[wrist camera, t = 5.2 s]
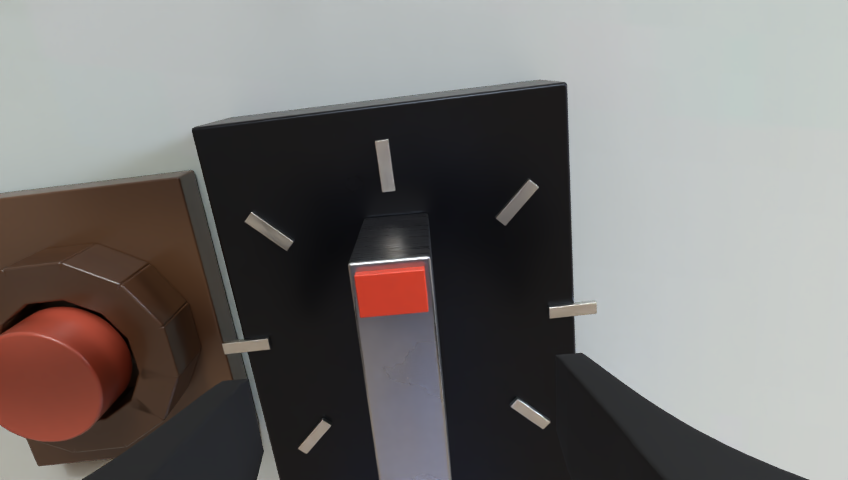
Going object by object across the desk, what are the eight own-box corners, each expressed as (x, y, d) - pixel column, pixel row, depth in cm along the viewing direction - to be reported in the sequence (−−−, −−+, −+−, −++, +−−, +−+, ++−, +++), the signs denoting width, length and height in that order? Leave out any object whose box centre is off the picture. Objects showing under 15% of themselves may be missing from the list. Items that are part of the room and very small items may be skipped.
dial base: (573, 423, 20) (599, 484, 17) (290, 452, 21) (268, 517, 18) (561, 76, 16) (593, 78, 13) (210, 119, 17) (164, 131, 14)
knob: (447, 422, 17) (455, 521, 13) (391, 427, 17) (383, 526, 13) (427, 211, 15) (430, 260, 11) (363, 217, 15) (345, 267, 11)
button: (147, 400, 17) (118, 436, 15) (38, 412, 17) (-3, 449, 15) (114, 299, 16) (78, 326, 14) (-3, 312, 16) (-52, 340, 14)
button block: (259, 423, 20) (233, 481, 17) (58, 444, 21) (0, 505, 18) (194, 169, 17) (150, 189, 14) (-42, 197, 17) (-132, 223, 15)
